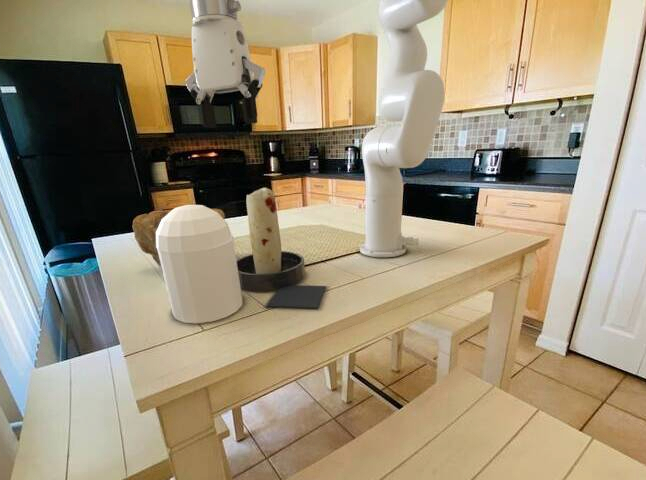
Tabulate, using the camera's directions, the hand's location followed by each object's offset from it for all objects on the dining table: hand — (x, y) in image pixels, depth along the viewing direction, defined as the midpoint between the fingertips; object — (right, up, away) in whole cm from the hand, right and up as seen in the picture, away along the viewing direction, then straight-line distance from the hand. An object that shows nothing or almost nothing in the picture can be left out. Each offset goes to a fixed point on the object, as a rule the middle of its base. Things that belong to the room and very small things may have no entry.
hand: (230, 125), depth 64 cm
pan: (+6, -29, +15) cm, 33 cm away
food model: (+6, -29, +15) cm, 33 cm away
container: (-5, -35, +2) cm, 36 cm away
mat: (+13, -33, +4) cm, 36 cm away
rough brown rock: (-17, -27, +24) cm, 40 cm away
